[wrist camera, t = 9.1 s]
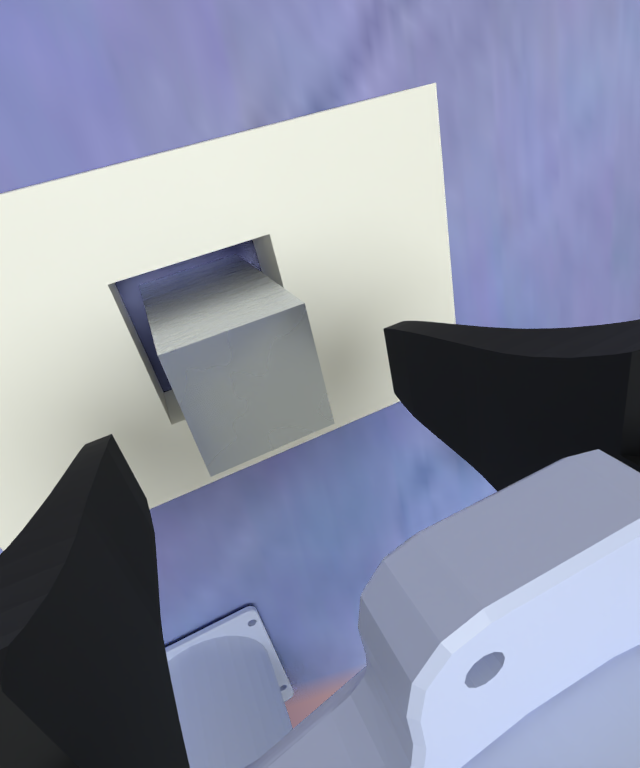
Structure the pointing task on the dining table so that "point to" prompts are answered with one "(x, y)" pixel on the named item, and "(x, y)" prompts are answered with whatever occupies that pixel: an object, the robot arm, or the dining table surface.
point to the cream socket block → (198, 237)
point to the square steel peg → (237, 360)
